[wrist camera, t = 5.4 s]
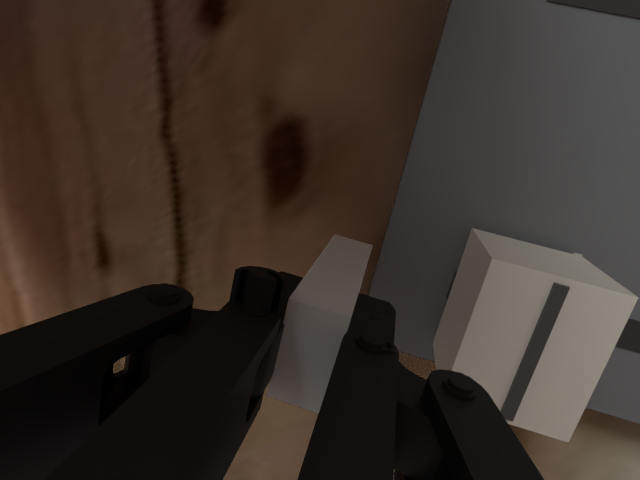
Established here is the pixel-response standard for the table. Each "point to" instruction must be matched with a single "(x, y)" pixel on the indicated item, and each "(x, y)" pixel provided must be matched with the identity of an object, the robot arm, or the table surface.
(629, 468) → the table surface
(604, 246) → the console
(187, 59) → the table surface
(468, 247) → the fader
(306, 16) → the table surface
